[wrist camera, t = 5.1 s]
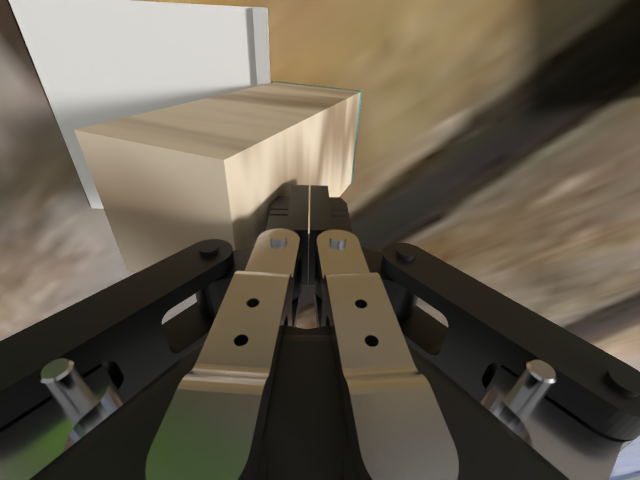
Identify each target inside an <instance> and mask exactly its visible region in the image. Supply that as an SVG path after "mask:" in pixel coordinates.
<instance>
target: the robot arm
mask: <svg viewBox="0 0 640 480" xmlns="http://www.w3.org/2000/svg"><path fill="white" fill-rule="evenodd" d="M308 215H309V185H291V192H290V196H278V197H277V198H276V199H275V200H274V201H272V204H271V210H270V213H269V218H268V222H267V226H266V231H265V232H263V233H261V234H260V235H259V236H258V238H257V241H256V243H255V245H254V246H252V247H249V248H245V249H239V250H234V251H233V248H232V246H231V244H230V243H228V242H227V241H225V240H221V239H208V240H203V241H200V242H197V243H195V244H193V245H191V246H189V247H187V248H185V249H183V250H181V251H179V252H177V253H175V254H173V255H171V256H169V257H167V258H165V259H163V260H161V261H159V262H157V263H155V264H153V265H151V266H149V267H147V268H145V269H143V270H141V271H139V272H137V273H135V274H133V275H131V276H129V277H127V278H125V279H123V280H121V281H119V282H117V283H115V284H113V285H111V286H109V287H107V288H105V289H103V290H101V291H99V292H97V293H95V294H94V295H92V296H90V297H88V298H86V299H84V300H82V301H80V302H78V303H76V304H74V305H72V306H70V307H68V308H66V309H64V310H62V311H60V312H58V313H56V314H54V315H52V316H50V317H48V318H46V319H44V320H42V321H40V322H38V323H36V324H34V325H32V326H30V327H28V328H26V329H24V330H22V331H20V332H18V333H16V334H14V335H12V336H10V337H8V338H6V339H4V340H2V341H0V480H609V478H610V475H611V473H612V470H613V467H614V465H615V462H616V459H617V457H618V454H619V452H620V451H621V450H623V449H624V448H625V447H626V446H627V445H629V444H630V443H631V442H632V441H633V440H635V439H636V438H637V437H638V436H639V435H640V372H639V371H638V370H636V369H635V368H633V367H631V366H630V365H628V364H626V363H624V362H622V361H621V360H619V359H617V358H615V357H614V356H612V355H610V354H608V353H606V352H605V351H603V350H601V349H599V348H597V347H596V346H594V345H592V344H590V343H588V342H587V341H585V340H583V339H581V338H580V337H578V336H576V335H574V334H572V333H571V332H569V331H567V330H565V329H563V328H562V327H560V326H558V325H556V324H555V323H553V322H551V321H549V320H547V319H546V318H544V317H542V316H540V315H538V314H537V313H535V312H533V311H531V310H529V309H528V308H526V307H524V306H522V305H521V304H519V303H517V302H515V301H513V300H512V299H510V298H508V297H506V296H504V295H503V294H501V293H499V292H497V291H496V290H494V289H492V288H490V287H488V286H487V285H485V284H483V283H481V282H479V281H478V280H476V279H474V278H472V277H471V276H469V275H467V274H465V273H463V272H462V271H460V270H458V269H456V268H454V267H453V266H451V265H449V264H447V263H445V262H444V261H442V260H440V259H438V258H437V257H435V256H433V255H431V254H429V253H428V252H426V251H424V250H422V249H420V248H419V247H417V246H414V245H411V244H407V243H393V244H390V245H388V246H386V247H385V248H384V250H383V253H381V252H377V251H372V250H369V249H366V248H364V247H362V246H360V243H359V240H358V238H357V237H356V236H355V235H354V234H353V233H352V228H351V223H350V218H349V213H348V208H347V203H346V202H345V201H344V200H343V199H341V198H340V197H329V191H328V186H324V185H311V186H310V238H309V285H315V311H316V319H317V328H313V329H301V328H297V327H296V323H297V316H298V309H299V302H300V294H301V290H302V285H307V272H308ZM193 294H196V299H197V302H196V303H195V304H193V305H192V306H190V307H189V308H187V309H185V310H184V311H182V312H181V313H179V314H178V315H176V316H175V317H173V318H172V319H170V320H169V321H167V322H165V323H164V324H162V325H161V322H162V319H163V317H164V315H165V314H166V312H167V311H168V310H170V309H171V308H173V307H174V306H176V305H177V304H179V303H181V302H182V301H184V300H185V299H187V298H189V297H190V296H192V295H193ZM418 297H419V298H421V299H422V300H423V301H425V302H426V303H428V304H429V305H431V306H432V307H434V308H435V309H437V310H438V311H440V312H441V313H442V314H443V315H444V316H445V317H446V319H447V321H448V325H449V327H448V328H447V327H446V326H445V325H443V324H442V323H440V322H439V321H438V320H436V319H435V318H433V317H432V316H430V315H429V314H428V313H426V312H425V311H423V310H422V309H420V308H419V307H418V306H416V302H417V299H418Z"/></svg>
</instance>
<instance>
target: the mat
mask: <svg viewBox="0 0 640 480" xmlns="http://www.w3.org/2000/svg"><path fill="white" fill-rule="evenodd" d="M9 2H10V5H11V7H12V10H13V12H14V15H15V17H16V20H17V22H18V25H19V27H20V30H21V32H22V35H23V37H24V40H25V42H26V45H27V47H28V50H29V52H30V55H31V57H32V60H33V62H34V65H35V67H36V70H37V73H38V75H39V78H40V80H41V83H42V85H43V88H44V90H45V93H46V95H47V98H48V100H49V103H50V105H51V108H52V110H53V113H54V115H55V118H56V120H57V123H58V125H59V128H60V130H61V133H62V135H63V138H64V140H65V143H66V145H67V148H68V150H69V153H70V155H71V158H72V160H73V163H74V165H75V168H76V170H77V173H78V175H79V178H80V180H81V183H82V185H83V188H84V190H85V193H86V195H87V198H88V200H89V203H90V205H91V208H99V209H104V208H103V205H102V202H101V200H100V197H99V194H98V192H97V189H96V186H95V184H94V181H93V179H92V176H91V173H90V171H89V168H88V165H87V163H86V160H85V157H84V155H83V152H82V149H81V147H80V144H79V142H78V139H77V136H76V134H75V131H74V130H75V129H79V128H84V127H88V126H92V125H96V124H100V123H105V122H109V121H113V120H117V119H121V118H126V117H130V116H134V115H138V114H142V113H147V112H151V111H155V110H159V109H164V108H168V107H172V106H176V105H180V104H185V103H189V102H193V101H197V100H201V99H206V98H210V97H214V96H218V95H222V94H227V93H231V92H235V91H239V90H243V89H248V88H252V87H256V86H260V85H265V84H269V83H271V79H270V52H269V26H268V8H264V7H239V6H221V5H203V4H185V3H167V2H149V1H131V0H9Z"/></svg>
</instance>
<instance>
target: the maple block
mask: <svg viewBox="0 0 640 480" xmlns="http://www.w3.org/2000/svg"><path fill="white" fill-rule="evenodd" d="M361 96H362V91H357V90H348V89H339V88H330V87H321V86H312V85H303V84H294V83H285V82H273V83H269V84H265V85H260V86H256V87H252V88H248V89H243V90H239V91H235V92H231V93H227V94H222V95H218V96H214V97H210V98H206V99H201V100H197V101H193V102H189V103H185V104H180V105H176V106H172V107H168V108H164V109H159V110H155V111H151V112H147V113H142V114H138V115H134V116H130V117H126V118H121V119H117V120H113V121H109V122H105V123H100V124H96V125H92V126H88V127H84V128H79V129H75V130H74V131H75V134H76V136H77V139H78V142H79V144H80V147H81V149H82V152H83V155H84V157H85V160H86V163H87V165H88V168H89V171H90V173H91V176H92V179H93V181H94V184H95V186H96V189H97V192H98V194H99V197H100V200H101V202H102V205H103V208H104V210H105V213H106V216H107V218H108V221H109V224H110V226H111V229H112V231H113V234H114V237H115V239H116V242H117V245H118V247H119V250H120V253H121V255H122V258H123V261H124V263H125V266H126V268H127V270H130V271H133V272H136V273H137V272H139V271H141V270H143V269H145V268H147V267H149V266H151V265H153V264H155V263H157V262H159V261H161V260H163V259H165V258H167V257H169V256H171V255H173V254H175V253H177V252H179V251H181V250H183V249H185V248H187V247H189V246H191V245H193V244H195V243H197V242H200V241H203V240H208V239H221V240H225V241H227V242H228V243H230V244H231V246H232V248H233V251H234V250H239V249H245V248H249V247H252V246H254V245H255V243H256V241H257V238H258V236H259V235H260V234H261V233H263V232H265V231H266V226H267V222H268V218H269V213H270V210H271V204H272V201H274V200H275V199H276V198H277V197H278V196H290V192H291V185H309V215H308V234H309V233H310V186H311V185H324V186H328V191H329V197H340V195H341V194H342V193H343V192H344V191H345V190H346V188H347V187H348V186H349V185H350V184H351V182H352V181H353V172H354V162H355V153H356V144H357V134H358V125H359V115H360V106H361Z"/></svg>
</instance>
